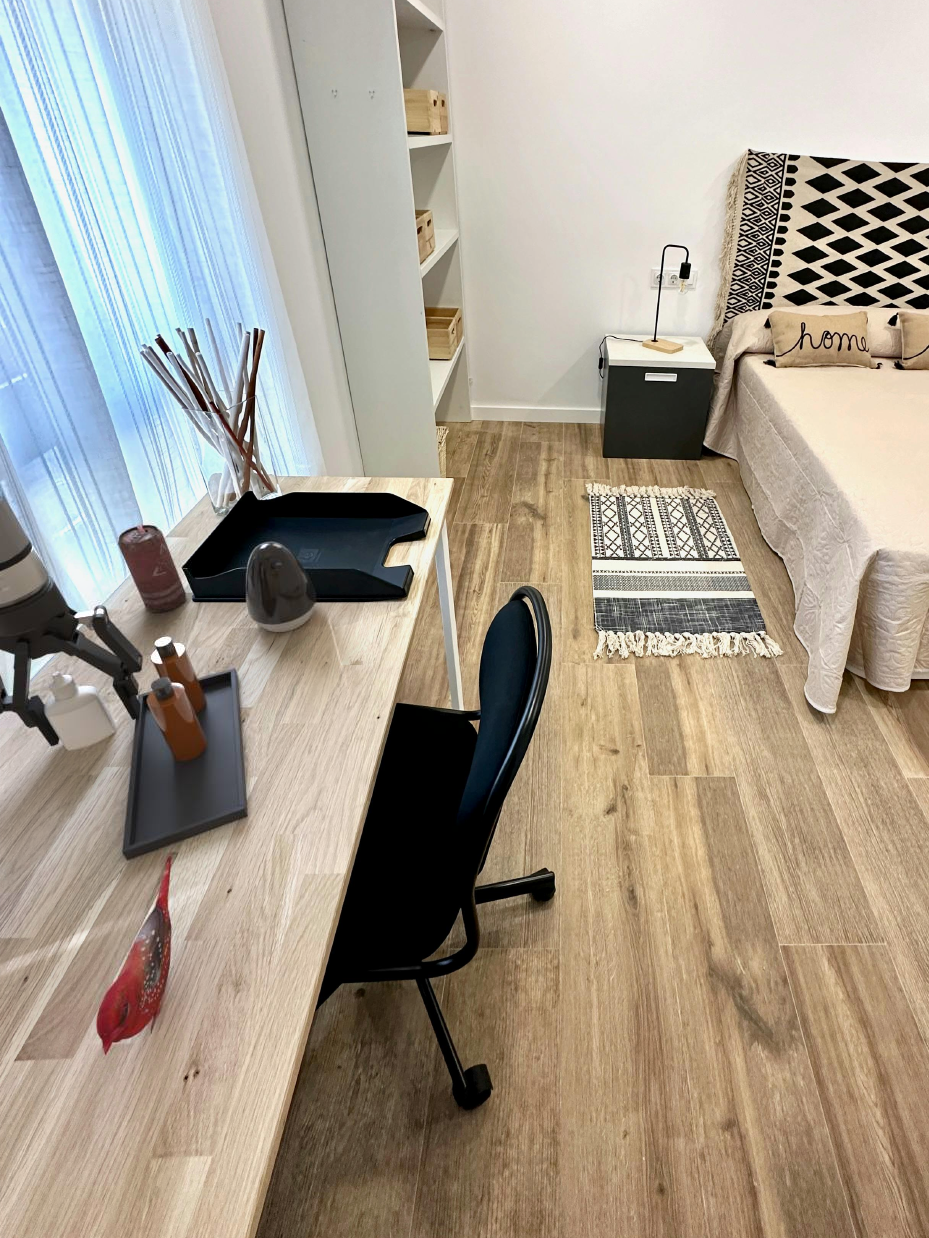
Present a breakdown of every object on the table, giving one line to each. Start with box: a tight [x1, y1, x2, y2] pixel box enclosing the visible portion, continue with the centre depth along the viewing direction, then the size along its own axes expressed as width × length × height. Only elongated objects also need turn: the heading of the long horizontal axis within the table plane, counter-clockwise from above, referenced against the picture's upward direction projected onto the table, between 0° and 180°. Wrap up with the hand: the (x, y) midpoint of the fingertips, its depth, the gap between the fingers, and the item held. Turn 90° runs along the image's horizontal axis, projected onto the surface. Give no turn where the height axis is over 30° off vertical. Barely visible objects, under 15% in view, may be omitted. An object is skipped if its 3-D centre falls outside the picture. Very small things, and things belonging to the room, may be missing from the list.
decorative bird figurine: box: [95, 855, 172, 1056], centre depth 58 cm, size 3×18×10 cm, turn 16°
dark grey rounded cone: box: [244, 541, 317, 633], centre depth 101 cm, size 10×10×15 cm
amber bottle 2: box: [147, 677, 207, 761], centre depth 79 cm, size 4×4×12 cm
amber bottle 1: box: [150, 636, 207, 714], centre depth 85 cm, size 4×4×12 cm
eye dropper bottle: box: [44, 671, 117, 751], centre depth 81 cm, size 4×6×12 cm
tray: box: [121, 667, 249, 861], centre depth 82 cm, size 25×12×2 cm, turn 27°
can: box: [117, 524, 187, 613], centre depth 104 cm, size 6×6×14 cm
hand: (97, 724), depth 83 cm, fingers open, 8 cm apart
